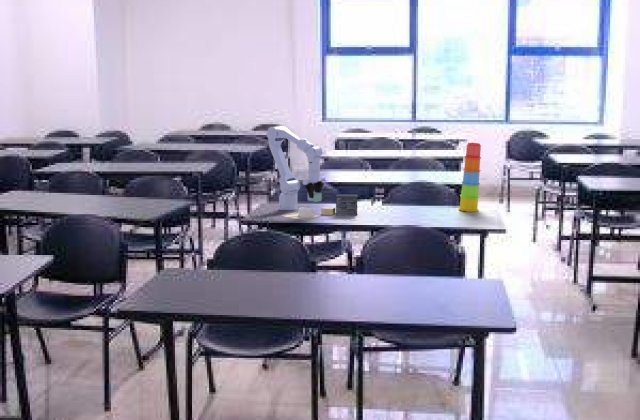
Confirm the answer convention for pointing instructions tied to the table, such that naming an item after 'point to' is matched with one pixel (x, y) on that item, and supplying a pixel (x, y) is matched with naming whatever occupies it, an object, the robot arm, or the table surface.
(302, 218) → the building board
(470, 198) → the stacking cups
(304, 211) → the white brick
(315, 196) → the teal brick
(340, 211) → the small box
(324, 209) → the mustard brick
